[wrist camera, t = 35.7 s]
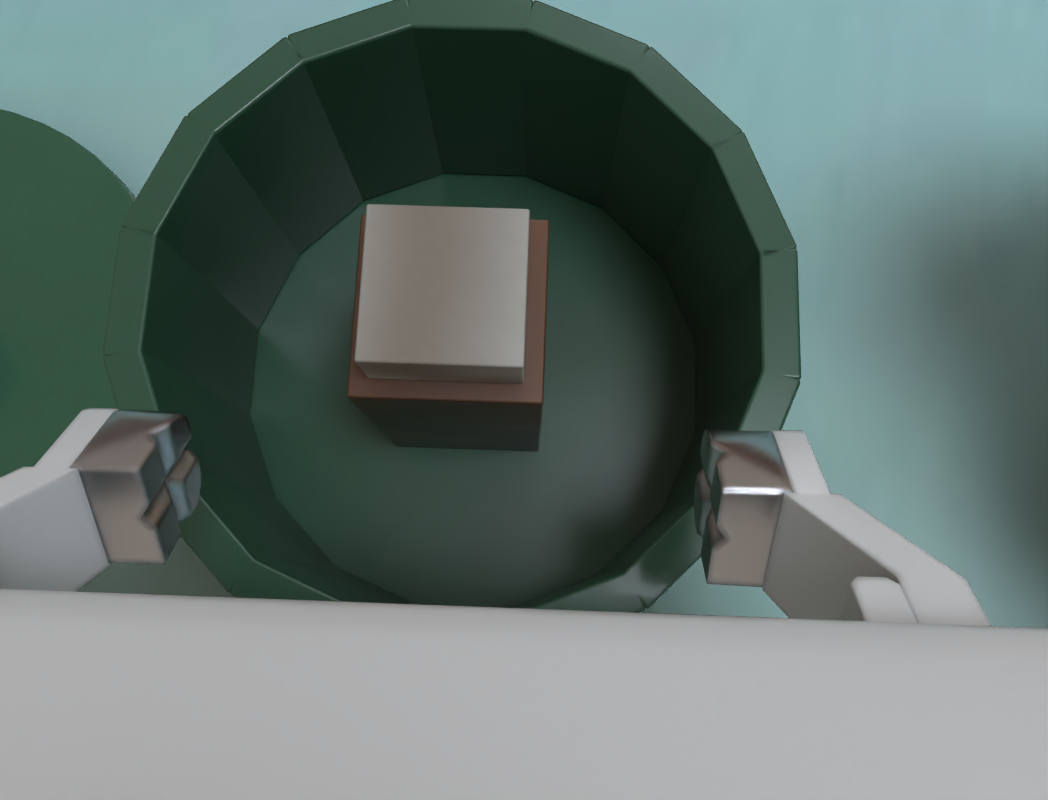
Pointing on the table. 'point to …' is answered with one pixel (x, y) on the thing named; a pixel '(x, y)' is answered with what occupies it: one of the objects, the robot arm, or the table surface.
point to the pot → (571, 317)
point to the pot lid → (52, 284)
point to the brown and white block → (451, 326)
